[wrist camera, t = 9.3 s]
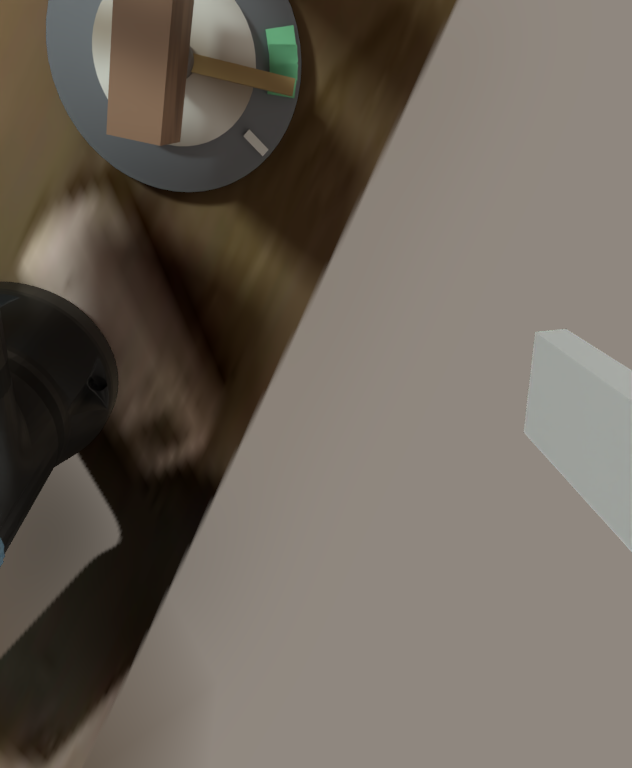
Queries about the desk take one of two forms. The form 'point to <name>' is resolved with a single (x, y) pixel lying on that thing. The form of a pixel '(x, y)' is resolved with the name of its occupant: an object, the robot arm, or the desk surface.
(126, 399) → the desk surface
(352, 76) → the desk surface
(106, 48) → the dial
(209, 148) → the plate
